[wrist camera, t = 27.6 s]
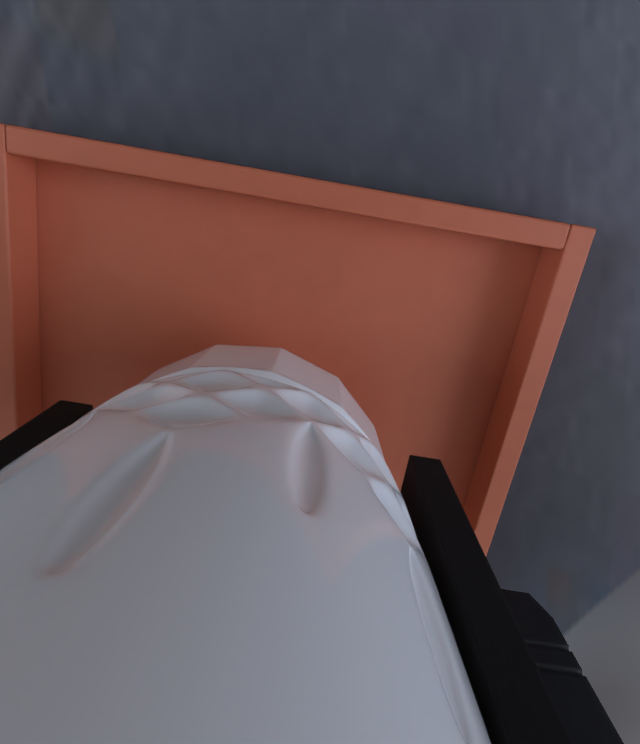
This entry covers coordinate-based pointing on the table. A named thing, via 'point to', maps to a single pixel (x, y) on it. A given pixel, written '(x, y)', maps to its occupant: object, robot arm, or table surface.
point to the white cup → (221, 572)
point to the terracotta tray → (282, 294)
